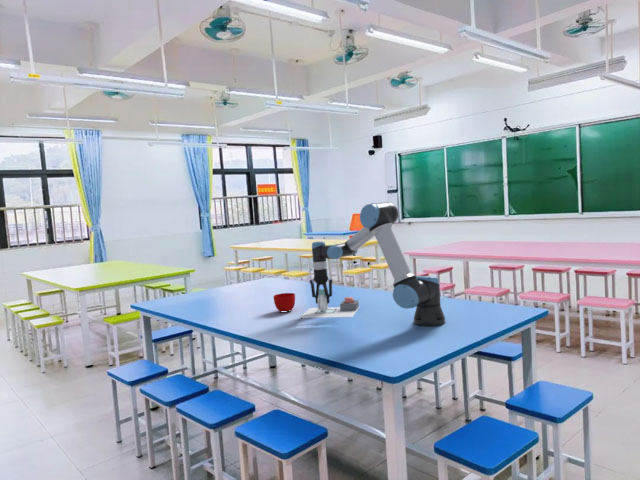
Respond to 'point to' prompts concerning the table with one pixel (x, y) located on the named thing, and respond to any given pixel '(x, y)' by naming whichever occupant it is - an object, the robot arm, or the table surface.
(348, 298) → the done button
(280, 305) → the ceramic cup
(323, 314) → the sheet
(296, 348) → the table surface
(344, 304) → the button housing
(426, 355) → the table surface
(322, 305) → the marker
